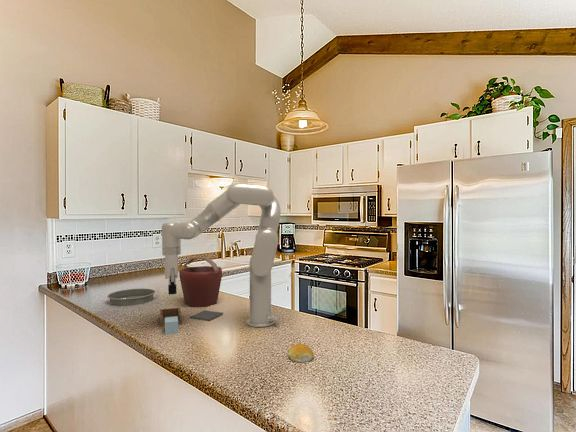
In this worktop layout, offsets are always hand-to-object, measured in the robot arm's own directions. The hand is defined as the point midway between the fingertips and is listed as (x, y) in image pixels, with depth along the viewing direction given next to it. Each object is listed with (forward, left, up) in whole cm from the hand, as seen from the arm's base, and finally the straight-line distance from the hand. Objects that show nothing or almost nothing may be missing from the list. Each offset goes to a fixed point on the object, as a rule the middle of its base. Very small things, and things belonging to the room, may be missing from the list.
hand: (172, 293), depth 141 cm
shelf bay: (+6, -5, -14) cm, 16 cm away
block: (-4, +5, -14) cm, 15 cm away
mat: (-5, -17, -14) cm, 23 cm away
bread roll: (-62, +8, -15) cm, 64 cm away
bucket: (+12, -36, -14) cm, 41 cm away
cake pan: (+52, -25, -15) cm, 60 cm away
